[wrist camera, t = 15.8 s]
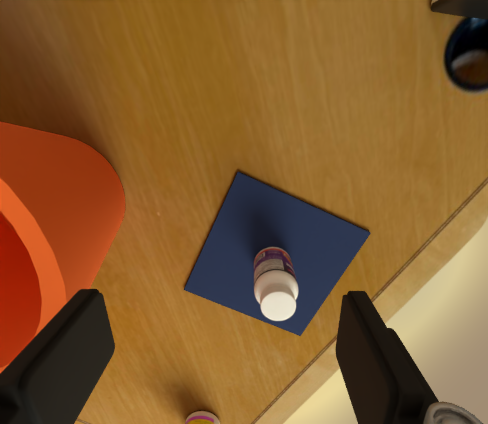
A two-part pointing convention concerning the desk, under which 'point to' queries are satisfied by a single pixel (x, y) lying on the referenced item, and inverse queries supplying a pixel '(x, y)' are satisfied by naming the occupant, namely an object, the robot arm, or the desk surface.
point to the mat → (273, 235)
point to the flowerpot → (50, 227)
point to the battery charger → (462, 7)
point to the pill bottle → (275, 283)
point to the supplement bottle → (202, 418)
